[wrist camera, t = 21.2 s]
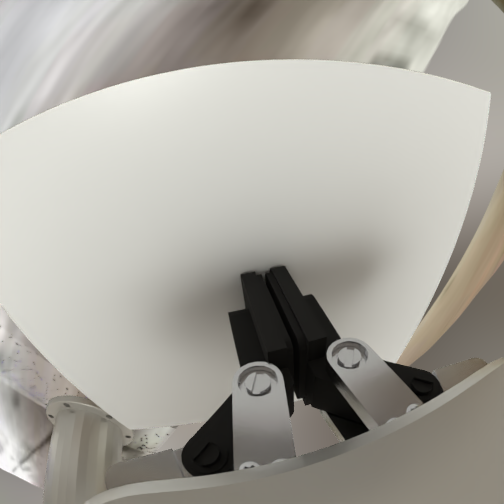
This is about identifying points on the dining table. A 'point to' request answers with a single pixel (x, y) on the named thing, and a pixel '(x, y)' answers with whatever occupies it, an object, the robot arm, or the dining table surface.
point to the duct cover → (228, 217)
